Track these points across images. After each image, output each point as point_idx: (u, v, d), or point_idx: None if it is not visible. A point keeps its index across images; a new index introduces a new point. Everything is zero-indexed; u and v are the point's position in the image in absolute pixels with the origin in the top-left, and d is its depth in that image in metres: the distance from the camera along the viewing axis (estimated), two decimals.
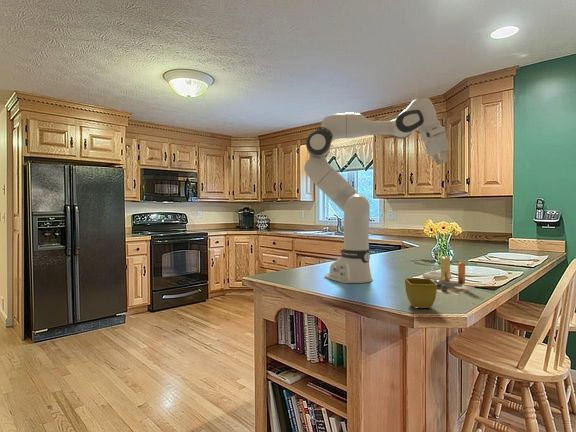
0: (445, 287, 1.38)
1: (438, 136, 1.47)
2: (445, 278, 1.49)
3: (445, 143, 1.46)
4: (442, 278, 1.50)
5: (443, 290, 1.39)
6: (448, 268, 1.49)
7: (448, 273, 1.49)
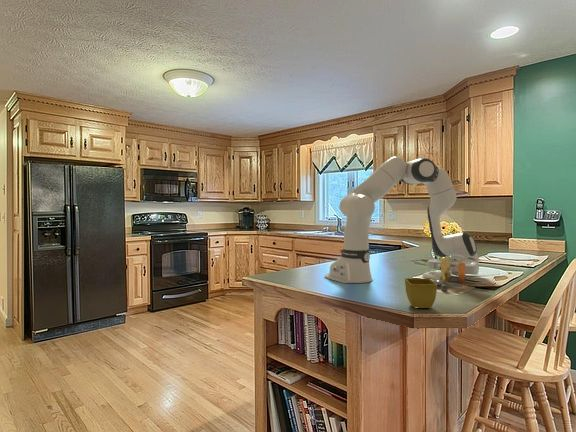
0: (445, 287, 1.38)
1: None
2: (445, 278, 1.49)
3: (476, 271, 1.48)
4: (442, 278, 1.50)
5: (443, 290, 1.39)
6: (448, 268, 1.49)
7: (448, 273, 1.49)
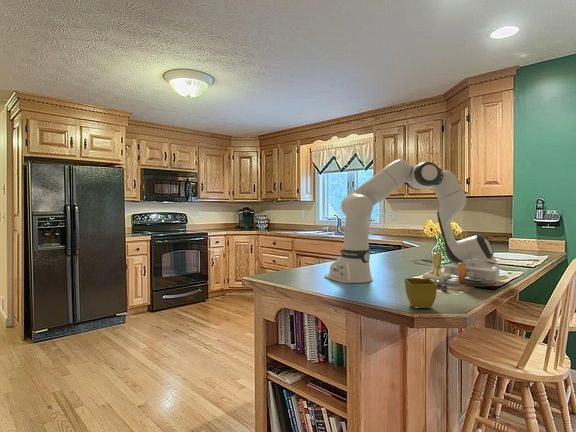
0: (445, 287, 1.38)
1: None
2: (437, 272, 1.62)
3: (497, 276, 1.40)
4: (434, 272, 1.62)
5: (443, 290, 1.39)
6: (439, 262, 1.62)
7: (439, 267, 1.62)
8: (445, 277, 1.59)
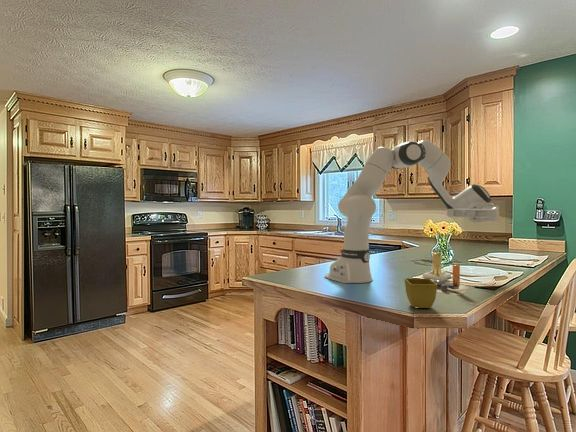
0: (445, 287, 1.38)
1: None
2: (437, 272, 1.62)
3: (497, 215, 1.49)
4: (434, 272, 1.62)
5: (443, 290, 1.39)
6: (439, 262, 1.62)
7: (439, 267, 1.62)
8: (445, 277, 1.59)
